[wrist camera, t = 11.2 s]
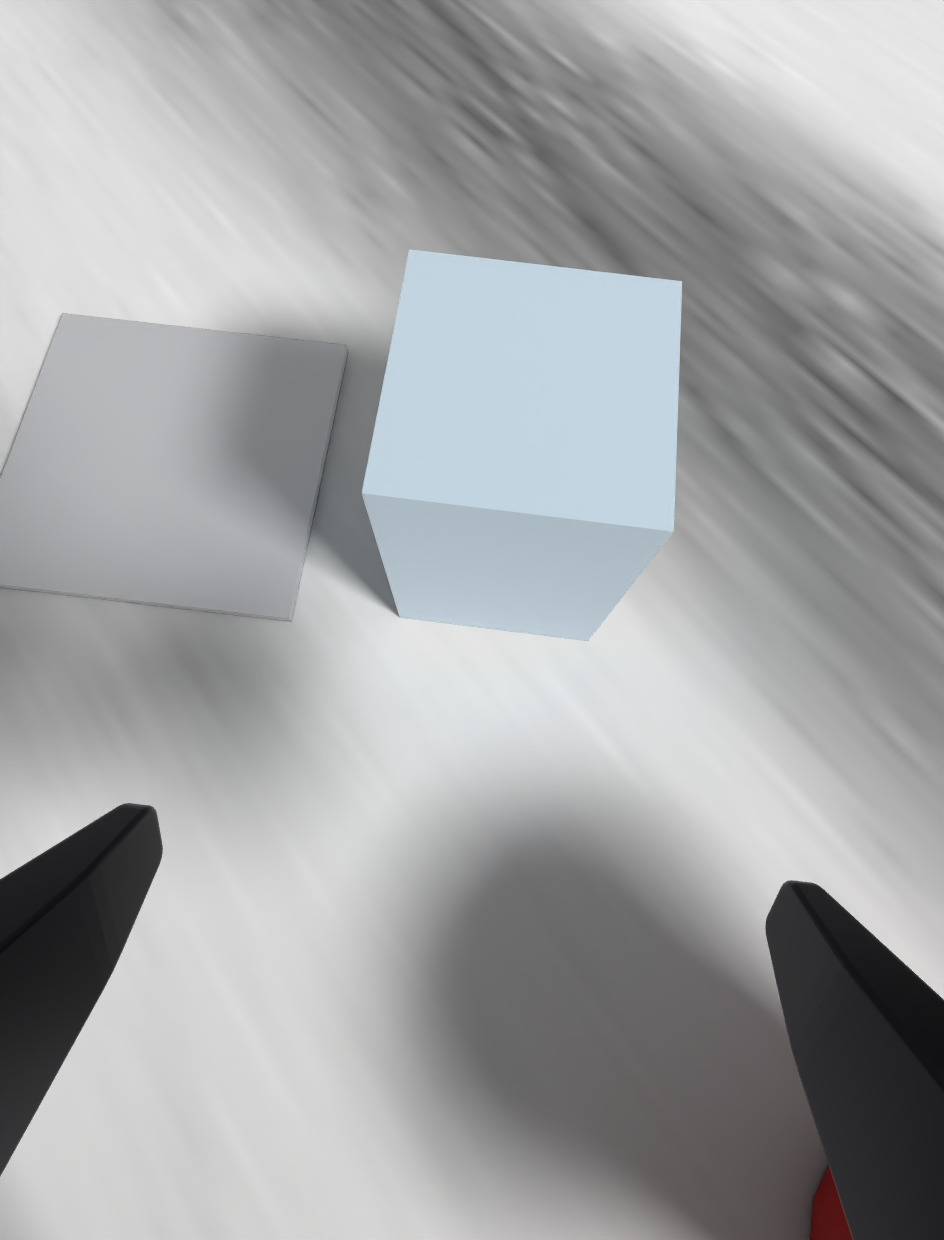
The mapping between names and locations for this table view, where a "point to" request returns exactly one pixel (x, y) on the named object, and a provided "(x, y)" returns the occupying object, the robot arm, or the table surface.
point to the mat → (169, 466)
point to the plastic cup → (828, 1213)
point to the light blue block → (524, 442)
